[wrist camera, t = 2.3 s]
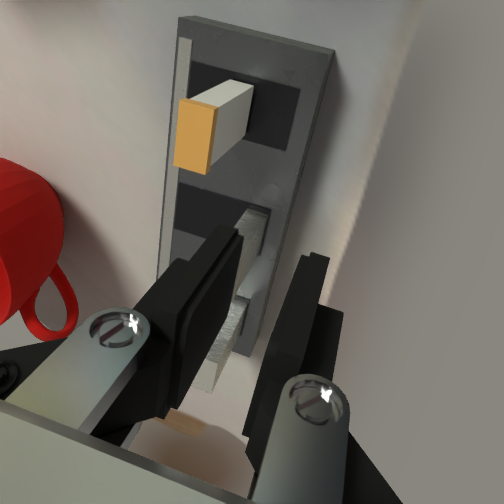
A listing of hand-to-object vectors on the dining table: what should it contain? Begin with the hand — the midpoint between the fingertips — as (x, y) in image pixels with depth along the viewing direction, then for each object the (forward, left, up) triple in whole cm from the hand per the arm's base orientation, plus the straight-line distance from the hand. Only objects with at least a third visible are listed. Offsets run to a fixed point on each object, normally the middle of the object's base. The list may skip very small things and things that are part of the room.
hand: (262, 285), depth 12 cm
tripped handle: (-5, +3, -16) cm, 17 cm away
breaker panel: (-9, -4, -19) cm, 22 cm away
